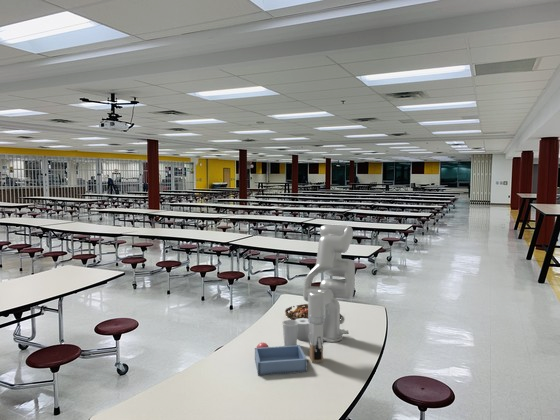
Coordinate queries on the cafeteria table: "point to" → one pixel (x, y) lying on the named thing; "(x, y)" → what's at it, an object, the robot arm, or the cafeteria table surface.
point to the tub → (280, 360)
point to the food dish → (298, 312)
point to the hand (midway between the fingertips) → (316, 356)
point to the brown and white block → (312, 349)
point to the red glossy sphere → (262, 345)
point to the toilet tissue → (303, 329)
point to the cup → (290, 332)
